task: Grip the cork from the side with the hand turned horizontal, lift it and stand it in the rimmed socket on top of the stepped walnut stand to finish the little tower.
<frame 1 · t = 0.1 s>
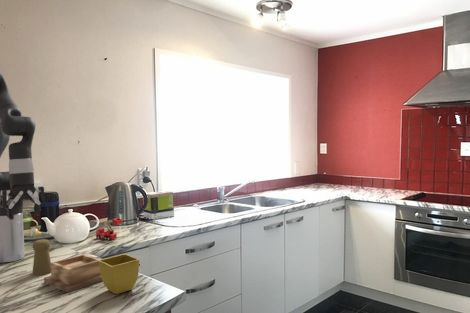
hand: (24, 217, 131), 17 cm above the countertop, tool pointing down, fingers open, 8 cm apart
tea box: (158, 217, 217), on the countertop
flower pot: (119, 290, 107), on the countertop
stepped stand: (77, 280, 116), on the countertop
cork: (42, 273, 124), on the countertop
toy fire truck: (109, 239, 167), on the countertop
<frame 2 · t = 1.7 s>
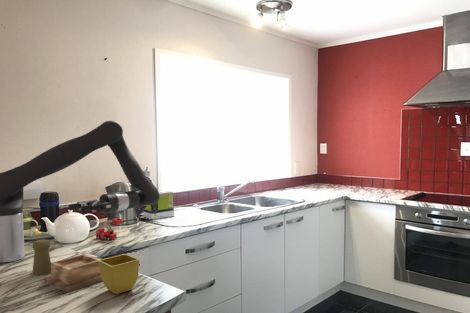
hand: (74, 208, 133), 20 cm above the countertop, tool horizontal, fingers open, 8 cm apart
nothing on the countertop moved.
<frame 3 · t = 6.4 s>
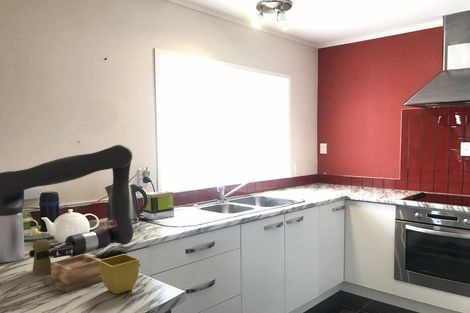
hand: (33, 255, 121), 7 cm above the countertop, tool horizontal, fingers closed on cork, 4 cm apart
cork: (42, 273, 124), on the countertop, touching gripper
everything else where it was.
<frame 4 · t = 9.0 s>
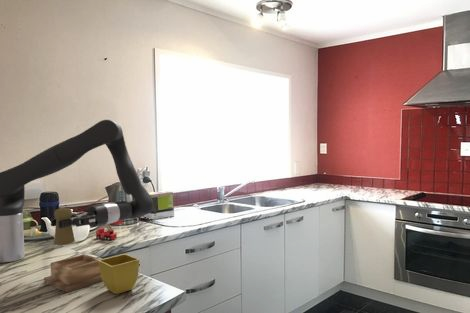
hand: (55, 223, 116), 18 cm above the countertop, tool horizontal, fingers closed on cork, 4 cm apart
cork: (64, 242, 119), point 11 cm above the countertop, touching gripper
everything else where it was.
when the fingers open (11 cm above the countertop, at t = 11.5 s): cork moves 1 cm, resting on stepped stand.
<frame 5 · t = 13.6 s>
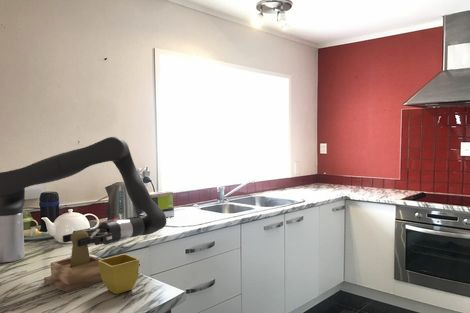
hand: (70, 241, 114), 13 cm above the countertop, tool horizontal, fingers open, 8 cm apart
cork: (80, 267, 115), point 4 cm above the countertop, touching gripper, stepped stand
everything else where it was.
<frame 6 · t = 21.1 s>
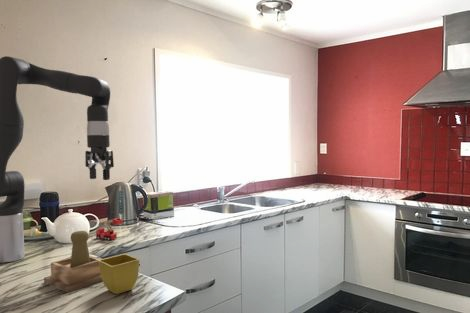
hand: (99, 179, 133), 30 cm above the countertop, tool pointing down, fingers open, 8 cm apart
cork: (80, 267, 115), point 4 cm above the countertop, touching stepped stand
everything else where it was.
at the end: cork 1.4 cm off-centre on the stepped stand, point 4.3 cm above the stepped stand's base; cork tilted 0°; the gripper is holding nothing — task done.
